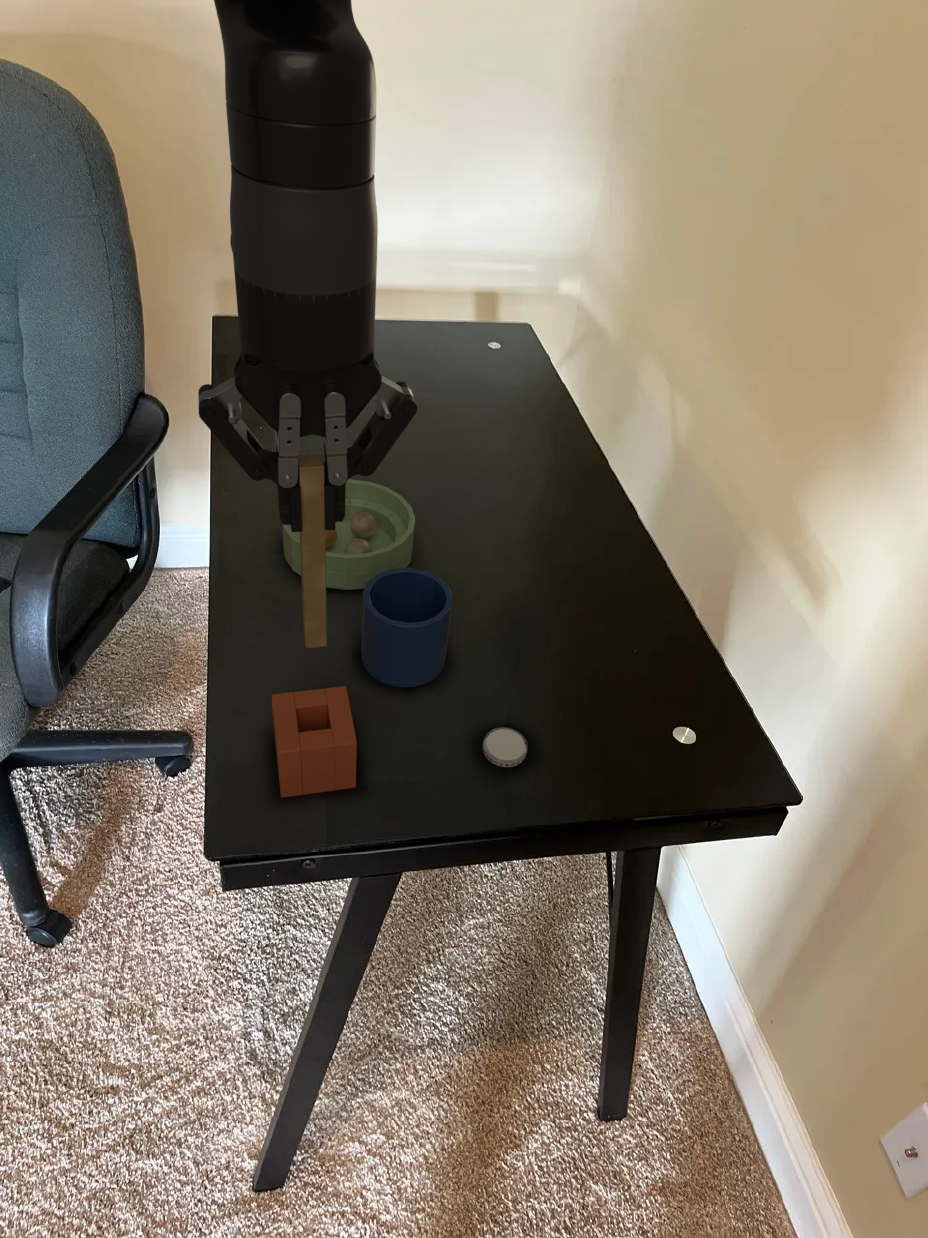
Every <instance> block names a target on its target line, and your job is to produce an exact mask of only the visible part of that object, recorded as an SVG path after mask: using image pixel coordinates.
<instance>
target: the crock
mask: <svg viewBox="0 0 928 1238" xmlns="http://www.w3.org/2000/svg"><path fill="white" fill-rule="evenodd" d="M453 602H454V597H453V594H452V591H451V588H450V586H449V585H448V584H447V583H446V582H445V581H444V580H443V579H442V578H441V577H440V576H437V575H435V574H433V573H431V572H429V571H427V570H425V569H424V570H423V569H419V568H414V567H406V568H397V569H390V570H387V571H385V572H382V573H379V574H377V575H376V576H375V577H373V578H372V579H371V580H370V581H369V582H368V583H367V584H366V587H365V589H363V592H362V603H361V605H362V607H361V613H362V614H361V641H360V642H361V644H360V652H361V661H362V664H363V666H364V669H365V670H366V671H367V673H368V674H369V675H370V676H371V677H372V678H374V679H375V680H377V681H378V682H381V683H383V684H385V685H388V686H390V687H391V686H392V687H395V688H396V687H397V688H414V687H419V686H423V685H425V684H427V683H430V682H431V681H433V680H434V679H435V678H437V677H438V676H439V675H440V673H442V670H443V669H444V667H445V661H446V656H447V650H448V644H449V635H450V627H451V620H452V612H453Z"/></svg>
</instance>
